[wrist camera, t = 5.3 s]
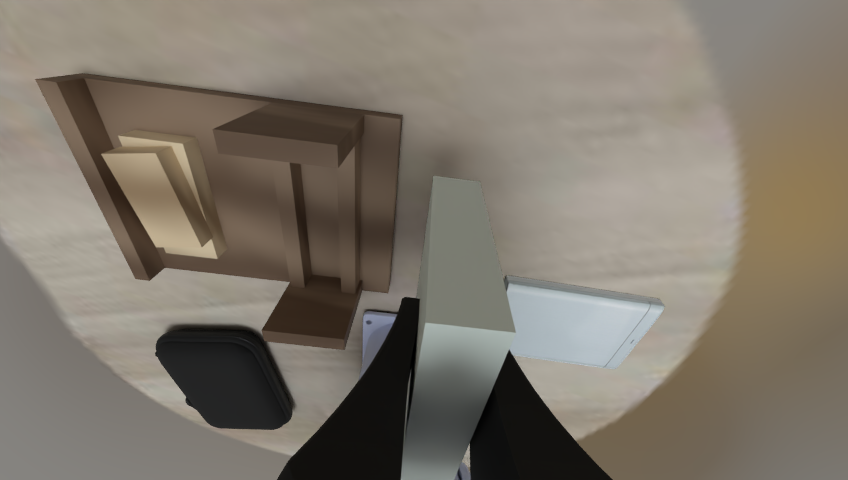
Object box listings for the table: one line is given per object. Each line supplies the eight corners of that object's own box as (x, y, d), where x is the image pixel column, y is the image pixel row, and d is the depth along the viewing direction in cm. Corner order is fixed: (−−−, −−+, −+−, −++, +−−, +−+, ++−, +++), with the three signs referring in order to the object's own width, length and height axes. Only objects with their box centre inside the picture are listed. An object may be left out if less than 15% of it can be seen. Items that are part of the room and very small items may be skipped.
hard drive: (480, 353, 28) (615, 372, 29) (508, 284, 24) (668, 309, 24) (478, 337, 30) (607, 356, 30) (505, 270, 25) (656, 294, 26)
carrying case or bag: (150, 320, 30) (212, 406, 38) (122, 347, 27) (196, 434, 35) (261, 321, 29) (300, 408, 37) (245, 349, 27) (290, 436, 35)
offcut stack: (229, 249, 23) (209, 270, 21) (175, 242, 23) (150, 263, 21) (199, 137, 19) (170, 151, 17) (132, 129, 19) (95, 141, 17)
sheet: (447, 323, 19) (450, 488, 12) (413, 319, 19) (397, 483, 12) (480, 181, 14) (515, 332, 7) (433, 175, 14) (425, 322, 7)
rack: (389, 284, 26) (376, 353, 20) (160, 258, 25) (84, 321, 20) (402, 115, 18) (386, 151, 13) (82, 73, 18) (-73, 93, 13)
